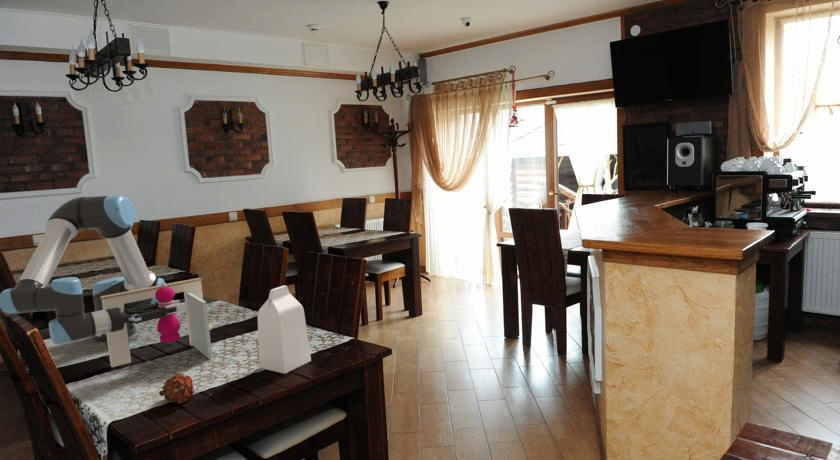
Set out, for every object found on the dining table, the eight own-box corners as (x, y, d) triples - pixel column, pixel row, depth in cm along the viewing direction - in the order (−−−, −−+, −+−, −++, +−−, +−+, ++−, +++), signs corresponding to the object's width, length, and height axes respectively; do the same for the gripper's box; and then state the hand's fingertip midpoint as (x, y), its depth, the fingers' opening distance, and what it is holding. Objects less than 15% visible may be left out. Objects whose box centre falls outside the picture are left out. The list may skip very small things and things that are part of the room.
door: (208, 358, 192) (202, 302, 189) (192, 344, 207) (186, 292, 205) (216, 356, 193) (210, 300, 190) (199, 343, 209) (193, 291, 206)
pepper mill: (184, 335, 194) (178, 279, 192) (177, 342, 187) (170, 284, 184) (163, 337, 194) (156, 281, 191) (155, 344, 187) (148, 285, 184)
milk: (285, 373, 176) (277, 293, 172) (259, 367, 182) (252, 290, 179) (311, 360, 186) (304, 284, 183) (286, 355, 192) (279, 282, 189)
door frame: (109, 366, 191) (100, 296, 188) (206, 340, 214) (199, 277, 210) (111, 367, 189) (102, 297, 186) (208, 341, 212) (202, 278, 208)
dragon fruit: (184, 414, 155) (172, 406, 164) (206, 388, 159) (193, 383, 168) (161, 395, 151) (150, 389, 161) (184, 370, 156) (172, 365, 165)
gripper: (102, 327, 184) (174, 311, 200) (117, 338, 171) (193, 320, 186) (99, 305, 183) (172, 290, 199) (114, 314, 170) (190, 298, 185)
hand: (182, 305), depth 192 cm, fingers closed on pepper mill, 5 cm apart
